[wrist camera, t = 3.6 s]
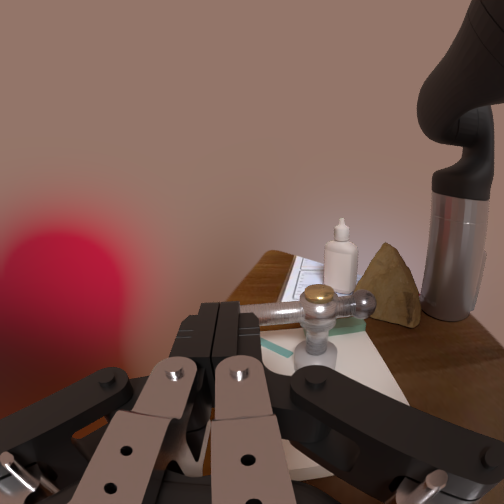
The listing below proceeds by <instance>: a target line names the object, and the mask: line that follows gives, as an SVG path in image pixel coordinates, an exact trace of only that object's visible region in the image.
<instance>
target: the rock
mask: <svg viewBox="0 0 504 504" xmlns="http://www.w3.org/2000/svg"><path fill="white" fill-rule="evenodd" d="M361 289H364V290H368V291H370V292H371V293H372V294H373V295H374V296H375V298H376V302H377V305H376V309H375V311H374V313H373V314H372V315H371V316H370V317H372V318H375V319H379V320H384V321H388V322H390V323H397V324H401V325H403V326H406V327H410V328H414V327H415V326H417V325H418V324H419V323H420V318H421V305H420V300H419V292H418V289H417V287H416V284H415V282H414V279H413V276H412V274H411V271H410V269H409V268H408V267H407V266H406V264H405V262H404V260H403V259H402V257H401V256H400V254H399V252H398V251H397V249H396V248H394V247H392V246H391V245H390V244H388V243H384V244H383V245H382V247H381V249H380V250H379V251H378V252H377V253H376V255H375V257H374V258H373V259H372V260H371V262H370V264H369V266H368V268H367V270H366V271H365V273H364V275H363V276H362V278H361V279H360V280H359V282H358V283H357V286H356V287H355V290H354V292H355V291H357V290H361ZM354 292H353V293H354Z"/></svg>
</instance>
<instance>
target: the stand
mask: <svg viewBox="0 0 504 504" xmlns="http://www.w3.org/2000/svg"><path fill="white" fill-rule="evenodd" d="M365 328H366V323H365V321H364V320H363V319H358V318H355V317H349V318H342V319H337V320H336V325H335V326H334V327H333V328H332V329H330V330H329V334H328V344H327V351H326V352H325V353H324V354H322V355H311V354H309V353H307V352H306V349H305V347H306V329H304V328H296V329H286V330H274V331H261V332H260V339H261V351H262V361H263V363H264V365H265V366H266V367H267V368H268V369H269V370H271V371H272V372H275V373H277V374H282V375H288V376H292V375H293V373H294V372H295V371H297V370H298V369H300V368H302V367H305V366H309V365H323V366H327V367H329V368H331V369H333V370H335V371H337V372H339V373H341V374H343V375H345V376H347V377H349V378H351V379H353V380H355V381H357V382H359V383H361V384H363V385H365V386H368V387H370V388H372V389H374V390H376V391H378V392H380V393H382V394H384V395H387V396H389V397H391V398H393V399H395V400H398V401H400V402H402V403H404V404H406V405H409V403H408V401H407V400H406V398H405V396H404V394H403V393H402V391H401V389H400V388H399V386H398V384H397V382H396V381H395V379H394V377H393V376H392V374H391V372H390V371H389V369H388V367H387V366H386V364H385V362H384V361H383V359H382V357H381V356H380V354H379V353H378V351H377V349H376V348H375V346H374V344H373V343H372V341H371V340H370V338H369V336H368V335H367V333H366V332H365ZM409 406H410V405H409ZM282 443H283V448H284V452H285V456H286V461H287V465H288V469H289V474H290V478H291V480H296V481H303V480H310V479H316V478H322V477H327V476H332V475H334V474H333V473H331V472H329V471H328V470H326V469H325V468H323V467H322V466H320V465H319V464H317V463H316V462H314V461H313V460H311V459H310V458H308V457H307V456H306V455H304V454H303V453H301V452H300V451H299V450H297V449H296V448H294V447H293V446H292V445H291V444H290V442H289V440H285V439H282Z"/></svg>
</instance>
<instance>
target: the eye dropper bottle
mask: <svg viewBox="0 0 504 504" xmlns="http://www.w3.org/2000/svg"><path fill="white" fill-rule="evenodd" d="M334 239H335V240H332V241H329V242H328V243H326V245H325V252H324V254H325V255H324V285H328V286H330V287H332V288H333V289H334V292H337V293H342V294H350V293H352V292H353V291H354V290H355V287H356V281H357V267H358V248H357V247H356V245H354V244H353V243H351V242H350V241H349V227H348V226H346V225H345V221H344V218H340V220H339V224H338V225H337V226H335V227H334Z"/></svg>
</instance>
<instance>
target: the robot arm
mask: <svg viewBox="0 0 504 504" xmlns="http://www.w3.org/2000/svg"><path fill="white" fill-rule="evenodd" d="M501 103H504V0H472V1H471V3H470V6H469V8H468V10H467V13H466V16H465V18H464V21H463V23H462V26H461V28H460V30H459V32H458V34H457V36H456V38H455V39H454V41H453V43H452V45H451V46H450V48H449V50H448V51H447V53H446V55H445V56H444V58H443V59H442V60H441V61H440V63H439V64H438V65H437V66H436V68H435V69H434V70H433V71H432V73H431V74H430V75H429V77H428V78H427V79H426V81H425V82H424V84H423V86H422V88H421V90H420V93H419V97H418V102H417V117H418V122H419V125H420V127H421V129H422V131H423V133H424V134H425V135H426V136H427V137H428V138H429V139H431V140H433V141H435V142H438V143H441V144H447V145H454V146H461V147H463V153H462V158H461V159H460V160H459V161H458V162H457V163H456V164H454V165H452V166H450V167H448V168H445V169H441V170H438V171H436V172H434V174H433V176H432V200H431V219H430V231H429V242H428V250H427V258H426V265H425V272H424V278H423V284H422V289H421V294H420V299H419V300H420V305H421V309H422V310H423V311H424V312H426V313H427V314H428V315H430V316H432V317H434V318H437V319H440V320H445V321H459V320H463V319H465V318H466V317H467V316H468V315H469V313H470V311H472V310H474V307H475V304H476V300H477V297H478V293H479V288H480V284H481V280H482V276H483V271H484V266H485V260H486V251H484V246H485V239H486V232H487V223H488V212H489V199H490V188H491V184H492V180H493V176H494V122H493V115H492V110H491V106H490V105H494V104H501ZM211 408H215V419H212V422H211V421H210V415H211ZM103 416H104V417H105V419H106V420H107V422H108V424H106V425H104V426H102V427H101V428H99V429H97V430H96V431H94V432H92V433H90V434H89V435H87V436H85V437H83V438H82V439H75V438H72V435H73V434H74V433H75V432H76V431H78V430H80V429H82V428H84V427H85V426H87V425H89V424H91V423H93V422H94V421H96V420H97V419H100V418H101V417H103ZM210 428H211V475H208V476H203V475H202V467H203V461H204V457H205V452H206V447H207V442H208V438H209V433H210ZM282 439H285V440H289V442H290V444H291V445H292V446H293V447H294V448H296V449H297V450H299V451H300V452H301V453H303V454H304V455H306V456H307V457H308V458H310V459H311V460H313V461H314V462H316V463H317V464H319V465H320V466H322V467H323V468H325V469H326V470H328V471H329V472H331V473H333V474H334V475H336V476H337V477H339V478H341V479H342V480H344V481H346V482H347V483H349V484H351V485H352V486H354V487H356V488H357V489H359V490H361V491H363V492H365V493H366V494H368V495H370V496H372V497H374V498H376V499H378V500H379V501H381V502H383V503H384V504H479V501H480V500H481V498H482V497H483V496H484V495H485V494H486V493H488V492H489V491H490V490H491V489H492V488H493V487H495V486H496V485H497V484H498V483H499V482H500V481H501V480H502V479H504V443H503V442H502V441H499V440H497V439H494V438H491V437H488V436H485V435H482V434H479V433H476V432H474V431H471V430H468V429H465V428H463V427H460V426H457V425H455V424H452V423H450V422H447V421H445V420H442V419H440V418H437V417H435V416H432V415H430V414H427V413H425V412H423V411H420V410H418V409H416V408H413V407H411V406H409V405H406V404H404V403H402V402H400V401H398V400H395V399H393V398H391V397H389V396H387V395H384V394H382V393H380V392H378V391H376V390H374V389H372V388H370V387H368V386H365V385H363V384H361V383H359V382H357V381H355V380H353V379H351V378H349V377H347V376H345V375H343V374H341V373H339V372H337V371H335V370H333V369H331V368H329V367H327V366H323V365H309V366H305V367H302V368H300V369H298V370H297V371H295V372H294V373H293V375H292V376H288V375H282V374H277V373H275V372H272V371H271V370H269V369H268V368H267V367H266V366H265V365H264V363H263V361H262V351H261V339H260V327H259V318H258V317H257V316H256V315H255V314H254V313H253V312H250V313H240V303H239V301H231V302H221V303H220V302H212V303H201V306H200V309H199V313H198V315H189V316H188V317H187V318H186V319H185V320H184V321H182V323H181V325H180V328H179V331H178V334H177V336H176V339H175V342H174V344H173V347H172V350H171V352H170V355H169V358H166V359H164V360H162V361H160V362H159V363H158V364H156V365H155V367H154V368H153V370H152V372H151V374H150V375H149V376H145V377H140V378H134V379H129V378H128V376H127V373H126V372H125V371H124V370H122V369H120V368H116V367H108V368H104V369H101V370H98V371H97V372H95V373H93V374H91V375H89V376H87V377H85V378H83V379H81V380H79V381H77V382H76V383H74V384H72V385H70V386H68V387H66V388H64V389H62V390H60V391H58V392H56V393H54V394H52V395H50V396H48V397H46V398H44V399H42V400H40V401H38V402H36V403H34V404H32V405H30V406H28V407H26V408H24V409H22V410H19V411H17V412H15V413H13V414H11V415H9V416H7V417H5V418H3V419H1V420H0V504H341V503H339V502H338V501H336V500H335V499H333V498H332V497H331V496H329V495H328V494H326V493H325V492H323V491H321V490H319V489H317V488H316V487H313V486H311V485H308V484H306V483H303V482H299V481H296V480H291V478H290V474H289V469H288V465H287V461H286V456H285V452H284V448H283V443H282Z"/></svg>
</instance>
